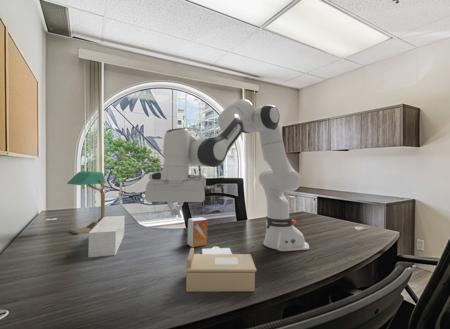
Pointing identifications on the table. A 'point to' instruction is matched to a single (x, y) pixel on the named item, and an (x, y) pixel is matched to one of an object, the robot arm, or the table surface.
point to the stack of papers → (106, 236)
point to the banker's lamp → (89, 179)
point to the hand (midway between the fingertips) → (175, 214)
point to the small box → (197, 232)
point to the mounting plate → (216, 251)
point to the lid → (219, 262)
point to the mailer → (220, 281)
